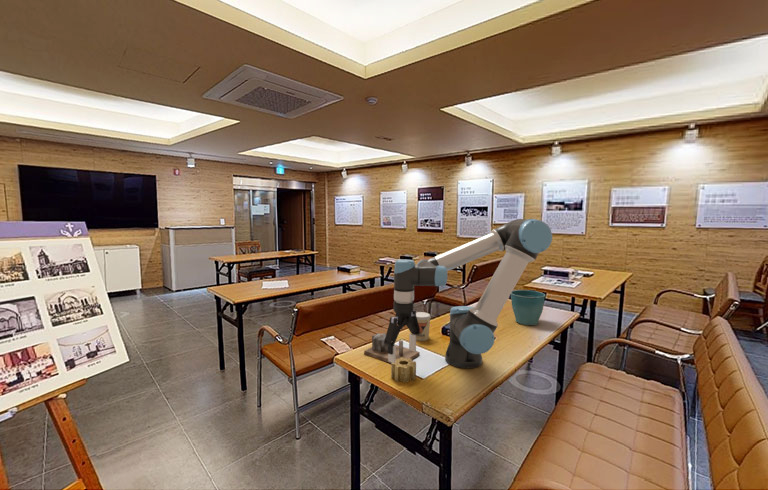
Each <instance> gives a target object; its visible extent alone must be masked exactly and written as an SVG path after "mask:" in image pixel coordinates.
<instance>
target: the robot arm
mask: <svg viewBox="0 0 768 490" xmlns="http://www.w3.org/2000/svg"><path fill="white" fill-rule="evenodd" d="M552 242H553V233H552V230H551V227H550V226H549V225H548V224H547V223H546V222H545V221H543V220H540V219H536V218H527V219H526V218H525V219H524V218H517V219H513V220H510V221H508V222H506V223H504V224H502V225H500V226H498V227H496V228H494V229H492V230H491V231H490V233H488V234H486V235H484V236H483V235H482V236H480V237H478V238H476V239H474V240H471V241H469V242H466V243H464V244H461V245H459V246H456V247H454V248H452V249H449V250H447V251H445V252H443V253H440V254H438V255H436V256H434V257H431V258H428V259H422V260H419V262H418V263H417V264H416V262H415V260H413V259H406V258H405V259H403V258H402V259H401V258H400V259H397V260H395V261H394V262H395V263H394V268H393V270H394V271H393V300H394V301H393V311H394V312H395V317H393V316H390V318H389V324H388V328H387V330H386V332H385V333H386V337H385V340H384V344H386V345H388V361H389V362H392V363H395V353H396V345H397V344H396V341H397V339H398V337H399V334H400V332H401V330H402V329H404V327H405V326H407V328H408V330H409V332H410V333H409V334H408V337H409V339H408V341H409V342H408V343H409V344H408V349H409V350H412V351H417V350H416V349H417V340H416V334H417V335H418V334H419V332H418V331H420V328H419V324H418V321H417V317H416V312H417V310H416V309H415V308H414V307H415V306H414V305H415V302H414V300H415V286H416V287H417V286H418V287H419V286H420V287H421V286H423V287H424V286H425V287H444V286H446V284H448V271H452V270H454V269H456V268H459V267H461V266H463V265H466V264H467V263H470V262H474V261H475V260H478V259H480V258H483V257H485V256H489V255H490V254H492V253H495V252H498V251H499V252H503V251H505V253H504V255H503V257H502V259H501V261H500V262H499V264H498V267H496V269H495V271H494V273H493V275H492V277H491V278H490V281H489V282H488V284H487V285H486V287H485V290H484V291H483V293H482V295H481V296H480V299H478V302H477V303H476V305H475V306H468V305H460V306H459V305H458V306H452V307H451V308H450V309H449V310H450V312H449V343H448V346H447V347H446V348H447V349H446V351H445V355H444V356H445V358H444V359H445V360H444V361H445V362H446V363H448V364H449V365H450V366H453V367H455V368H461V369H474V368H479V367H481V366H482V364H483V356H482V354H485V353H488V352H489V351H490V350H491V349H492V348H493V346H494V344H495V335H494V333H495V331H496V330H497V328H498V326H499V325H498V321H497V319H498V317H499V315H500V314H501V312H502V311H503V308H504V306H505V305H506V303H507V302H508V299H509V298H510V297H511V292H512V291H514V289H515V287H516V286H517V284H518V281H520V278H521V276H522V274H523V273H524V271H525V270H526V268H527V266H528V264H529V263H532V262H535V261H536V260H537V258H538V256H539V254H540V253H543V252H545V251H546V250H547V249H549V247H550V246H551V244H552ZM414 309H415V310H414ZM389 362H388V363H389Z"/></svg>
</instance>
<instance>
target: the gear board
mask: <svg viewBox="0 0 768 490" xmlns="http://www.w3.org/2000/svg"><path fill="white" fill-rule="evenodd" d="M386 333H387V332H382V333H375V334H373V335H372V336H371V345H372V346H371V347H369V348H367V349H365V350H364V351H363V354H364V355H366V356H369V357H372V358H373V359H377V360H380V361H384V362H387V363H389V364H391V363H392V362H389V361H388V345H386V344H384V340H385V337H386ZM395 345H396V353H395V359H400V358H401V357H403V358H406V359H408V358H411V359H412V361H414V360H415V359H416V358H417V357H419V356H420V354H421V353H420V351H417V350H416V351H412V350H409V347H408V348H407V347H404V340H402V339H399V340H398V345H397V344H395Z"/></svg>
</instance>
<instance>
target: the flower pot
mask: <svg viewBox="0 0 768 490" xmlns="http://www.w3.org/2000/svg"><path fill="white" fill-rule="evenodd" d="M545 297H546V294H545V293H543V292H540V291H536V290H529V289H516V290H513V291H512V292H511V294H510V298H511V307H512V308H511V309H512V312H513V315H514V317H515V322H516V323H517V322H518V324H520V325H525V326H535V325H538V324H539V323H540V322H539V321H540V318H541V316H542V313H543V310H544V305H545V303H544V302H545Z"/></svg>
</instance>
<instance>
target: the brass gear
mask: <svg viewBox="0 0 768 490" xmlns="http://www.w3.org/2000/svg"><path fill="white" fill-rule="evenodd" d="M390 364H391V366H390V368H391V370H390V371H391V373H390V374H391V375H390V376H391V379H394V381H395V382H397V383H399V382H403V383H404V384H406V383H407V384H408V382H410V381H412V382H413V381H415V380H416V378H417V361H415V360H412V359H411V358H408V359H406V358H403V357H401V358H400V359H395V363H390Z"/></svg>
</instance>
